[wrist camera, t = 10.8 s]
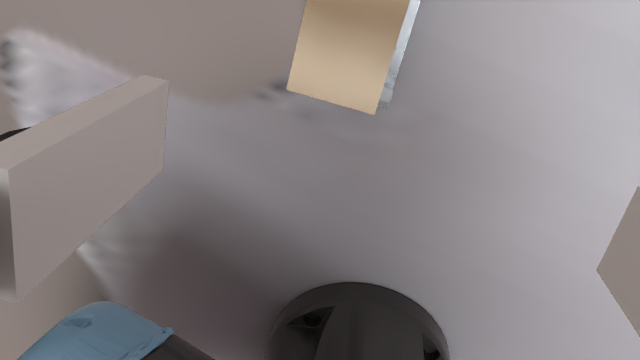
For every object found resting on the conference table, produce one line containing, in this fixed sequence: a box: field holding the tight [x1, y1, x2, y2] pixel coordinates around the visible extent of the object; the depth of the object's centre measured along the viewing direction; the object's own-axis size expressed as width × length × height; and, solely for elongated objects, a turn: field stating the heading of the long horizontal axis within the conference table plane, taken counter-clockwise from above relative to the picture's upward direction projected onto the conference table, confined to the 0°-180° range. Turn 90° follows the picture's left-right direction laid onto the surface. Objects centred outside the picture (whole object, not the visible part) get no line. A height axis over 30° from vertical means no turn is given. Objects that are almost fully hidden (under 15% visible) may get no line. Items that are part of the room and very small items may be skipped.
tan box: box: [286, 0, 410, 115], centre depth 26 cm, size 6×4×10 cm, turn 166°
